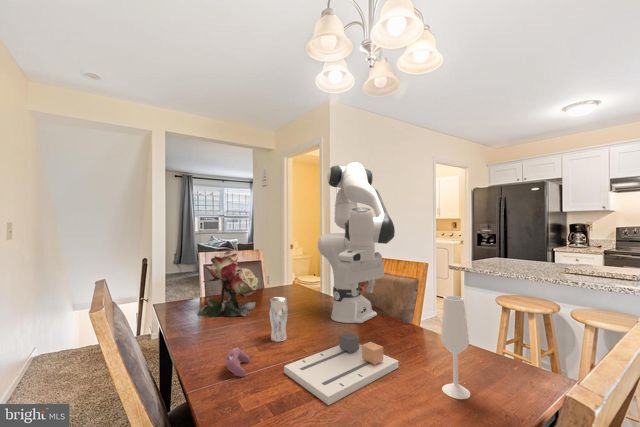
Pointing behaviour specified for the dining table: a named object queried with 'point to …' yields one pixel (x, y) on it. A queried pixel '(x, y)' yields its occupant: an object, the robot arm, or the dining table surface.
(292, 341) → the dining table surface
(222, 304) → the rose bouquet
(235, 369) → the video game controller
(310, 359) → the fader panel
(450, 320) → the champagne flute
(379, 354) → the block
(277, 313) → the beer glass
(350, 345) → the block
